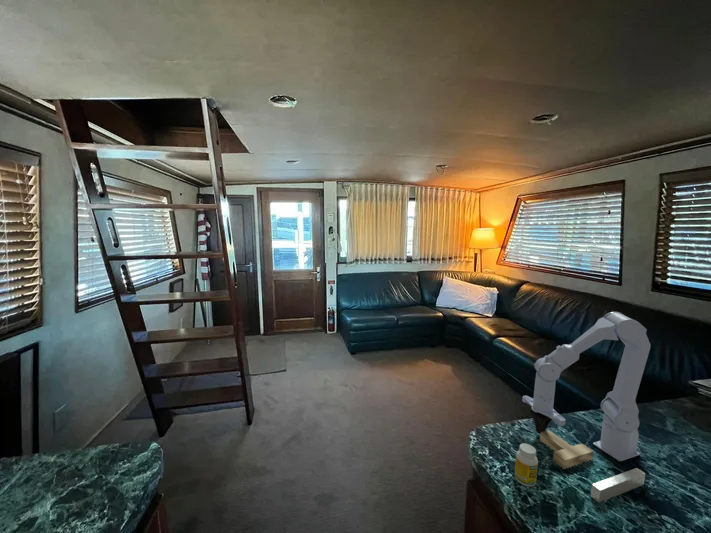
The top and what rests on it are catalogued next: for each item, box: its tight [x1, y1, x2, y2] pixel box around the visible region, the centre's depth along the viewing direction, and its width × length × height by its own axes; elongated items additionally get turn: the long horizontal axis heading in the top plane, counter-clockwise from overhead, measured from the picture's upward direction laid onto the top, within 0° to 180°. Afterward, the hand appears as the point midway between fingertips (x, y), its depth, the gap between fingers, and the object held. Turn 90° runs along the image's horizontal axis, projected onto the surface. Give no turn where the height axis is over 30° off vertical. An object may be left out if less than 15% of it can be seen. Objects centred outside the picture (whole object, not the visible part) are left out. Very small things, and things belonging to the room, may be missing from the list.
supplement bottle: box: [514, 442, 539, 488], centre depth 84 cm, size 5×5×10 cm
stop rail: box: [590, 467, 646, 503], centre depth 82 cm, size 18×2×4 cm, turn 109°
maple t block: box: [539, 429, 594, 470], centre depth 96 cm, size 12×12×3 cm
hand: (540, 432), depth 103 cm, fingers closed
